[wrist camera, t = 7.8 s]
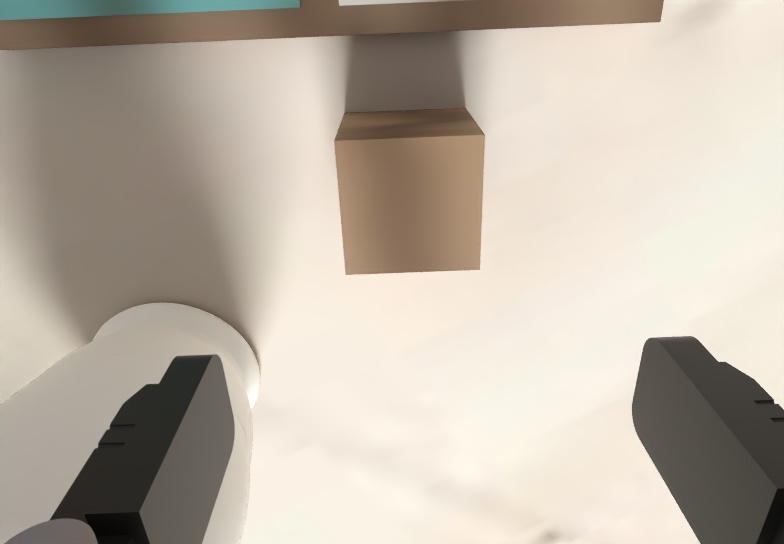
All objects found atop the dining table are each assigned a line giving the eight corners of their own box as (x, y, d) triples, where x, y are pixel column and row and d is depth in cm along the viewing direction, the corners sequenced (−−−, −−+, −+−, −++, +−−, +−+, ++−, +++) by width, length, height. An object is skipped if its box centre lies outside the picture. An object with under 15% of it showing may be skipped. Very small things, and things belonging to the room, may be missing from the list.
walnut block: (465, 107, 23) (484, 134, 18) (463, 221, 25) (479, 269, 21) (344, 112, 23) (334, 140, 18) (352, 225, 25) (345, 274, 21)
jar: (268, 276, 26) (144, 571, 13) (293, 442, 31) (221, 788, 17) (43, 284, 26) (-316, 586, 13) (102, 448, 31) (-117, 799, 17)
